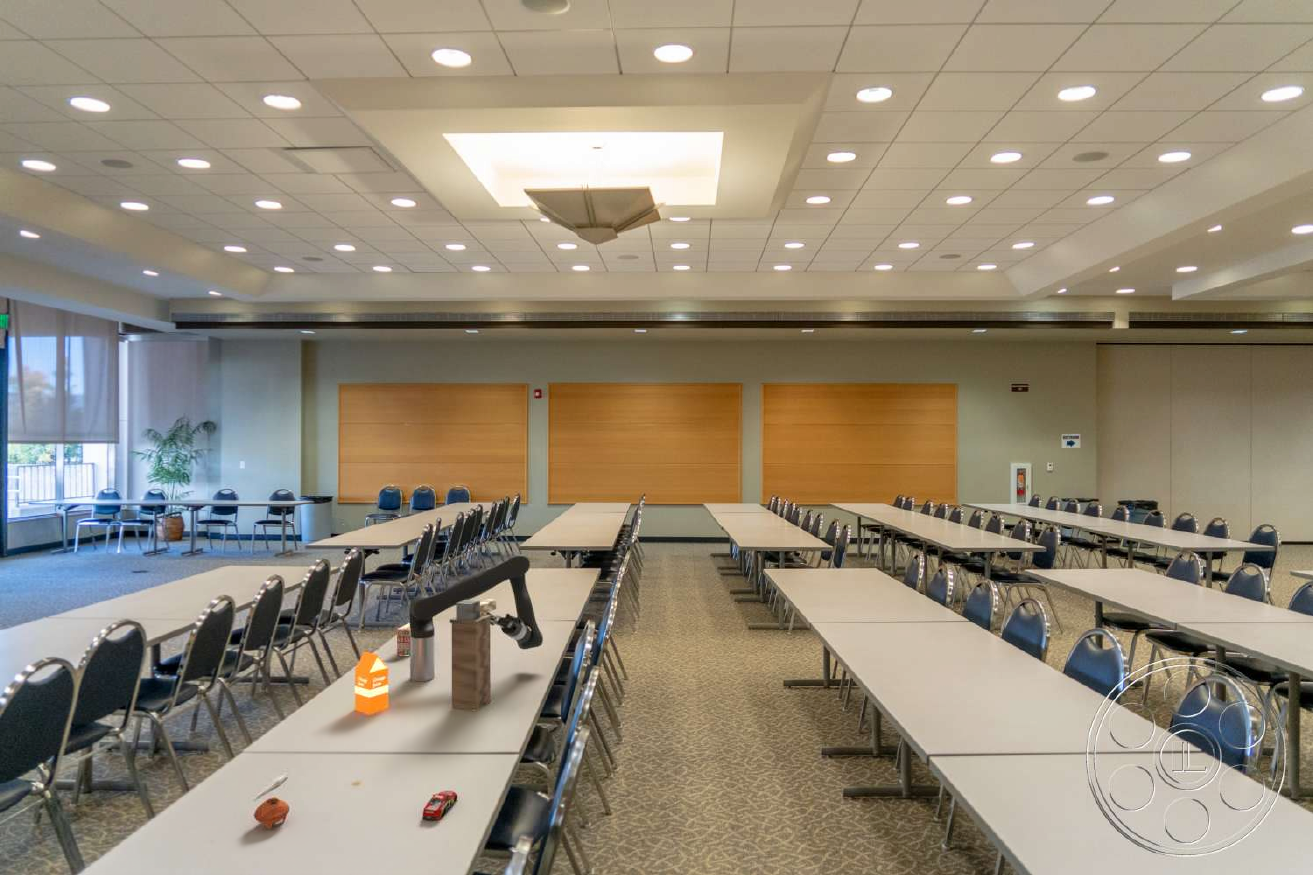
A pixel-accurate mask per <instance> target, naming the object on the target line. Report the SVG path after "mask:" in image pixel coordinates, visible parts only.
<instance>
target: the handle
mask: <svg viewBox="0 0 1313 875" xmlns="http://www.w3.org/2000/svg"><path fill="white" fill-rule="evenodd" d="M455 606H456V615H455V617H456V620H467V621H472V620H474V619H477V618H479V617H480V615H483V614H486V613H488V612H489V613H491V612H492V611H494V610H497V599H490V598H488V599H485V600H482V601H481V600H473V599H469V600H463V601H461V602H458V603H456V605H455Z"/></svg>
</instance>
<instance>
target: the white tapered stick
mask: <svg viewBox="0 0 1313 875" xmlns="http://www.w3.org/2000/svg"><path fill="white" fill-rule="evenodd" d="M289 773H290V771H289V770H287V771H285V773H282V774H280V775H278V776H277V777H274V778H272V779H271V780H270V783H269V784H268V785H266V786H265V787H264V788H263V790H261V791H260V792H259V793H258V795H256V796H255V797H254V799H253V801H256V800H258V799H259V798H261V797H262V796H264V795H266V794H268V793H269V792H270V791H272V790H273V789H275V788H277V787H279V786H281V784H283V782H284V781H285V780H286V779H287V778H289V776H287V775H289Z"/></svg>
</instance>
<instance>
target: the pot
mask: <svg viewBox="0 0 1313 875" xmlns="http://www.w3.org/2000/svg"><path fill="white" fill-rule="evenodd" d="M289 812H290V806H289V804H288V803H287V802H286V801H284V800H282V799H279V798H278V797H270V798H267V799H266V800H264V801H263V802H262V803H261V804H260V805H258V807H257V808H256V809H255V810H254V813H253V817H254V819H255V820H256V821H257V822H258V823H260V824H263V825H265V826H266V829H267V830H271V829H272V826H273V824H276V823H278V822H280V821H281V820H282V821H283V822H285V821H286V818H287V815H288V813H289Z"/></svg>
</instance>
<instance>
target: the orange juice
mask: <svg viewBox="0 0 1313 875" xmlns="http://www.w3.org/2000/svg"><path fill="white" fill-rule="evenodd" d="M387 708H388V709H389V667H387V665H386V664H385V663H384V661H383V660H382V658H381V657H380V655H379V654H375V653H372V652H367V651H363V653H362V655H361V657H360V659H359V661H358V663H357V664H356V666H355V669H354V710H355V711H358V712H361V713H365V714H367V715H373V714H375V712H376V713H378V711H379V712H382V711H385V710H387ZM381 710H382V711H381Z"/></svg>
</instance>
